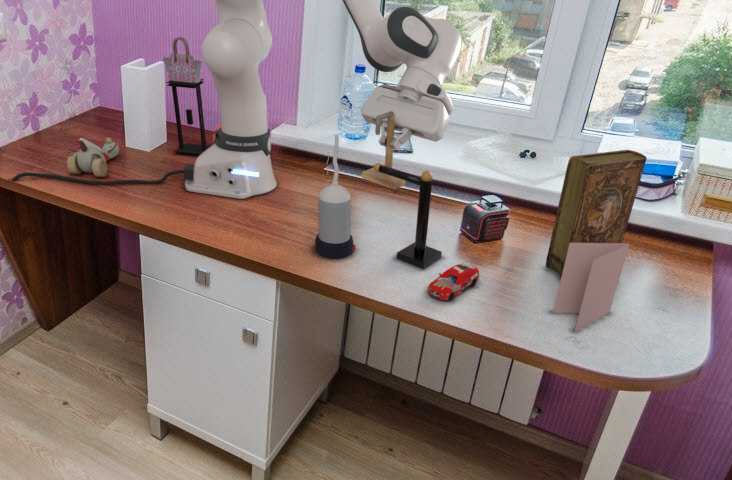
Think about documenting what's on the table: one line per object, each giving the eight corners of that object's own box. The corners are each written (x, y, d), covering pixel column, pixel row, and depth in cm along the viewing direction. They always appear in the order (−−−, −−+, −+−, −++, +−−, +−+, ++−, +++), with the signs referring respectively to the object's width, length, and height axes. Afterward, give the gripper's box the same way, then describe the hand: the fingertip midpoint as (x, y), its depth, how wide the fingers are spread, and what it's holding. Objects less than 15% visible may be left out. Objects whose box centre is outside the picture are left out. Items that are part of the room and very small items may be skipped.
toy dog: (123, 154, 176) (117, 121, 171) (122, 179, 162) (116, 144, 157) (74, 155, 172) (66, 122, 167) (68, 181, 158) (60, 145, 153)
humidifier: (360, 254, 138) (364, 139, 124) (324, 261, 134) (325, 144, 120) (343, 238, 143) (345, 127, 130) (309, 245, 140) (307, 130, 126)
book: (602, 257, 146) (631, 149, 132) (618, 268, 142) (651, 158, 128) (544, 268, 139) (568, 156, 125) (560, 281, 135) (587, 166, 121)
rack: (380, 234, 147) (385, 151, 136) (441, 257, 139) (451, 171, 129) (361, 244, 142) (364, 159, 131) (423, 269, 134) (432, 180, 124)
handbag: (215, 148, 185) (205, 36, 168) (206, 157, 179) (194, 41, 162) (180, 144, 186) (166, 32, 169) (169, 153, 179) (153, 37, 163)
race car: (444, 306, 123) (446, 288, 121) (422, 295, 126) (423, 277, 124) (483, 282, 132) (485, 265, 130) (461, 272, 135) (464, 255, 132)
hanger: (373, 173, 145) (376, 106, 137) (406, 184, 141) (411, 115, 133) (357, 180, 141) (359, 111, 133) (390, 191, 137) (394, 121, 129)
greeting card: (607, 310, 126) (627, 241, 118) (622, 331, 120) (644, 260, 112) (551, 310, 125) (568, 240, 116) (563, 331, 119) (581, 260, 110)
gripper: (373, 73, 141) (344, 126, 140) (452, 92, 132) (422, 150, 131) (384, 90, 147) (356, 142, 146) (460, 110, 138) (431, 165, 137)
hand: (388, 146), depth 138 cm, fingers closed on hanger
